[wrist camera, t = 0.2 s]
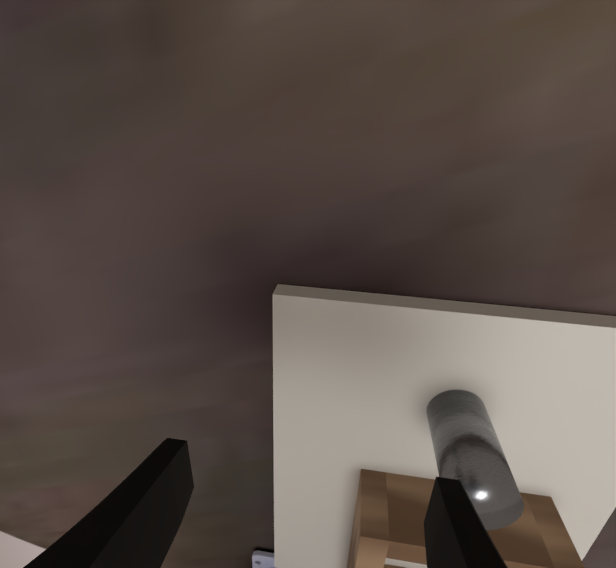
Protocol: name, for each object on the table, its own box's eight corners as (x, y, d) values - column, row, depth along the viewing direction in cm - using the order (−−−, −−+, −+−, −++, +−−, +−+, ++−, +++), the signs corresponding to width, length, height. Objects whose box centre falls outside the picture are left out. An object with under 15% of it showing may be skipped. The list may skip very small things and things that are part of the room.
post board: (539, 597, 28) (585, 727, 22) (277, 550, 30) (256, 657, 24) (699, 324, 17) (870, 435, 11) (277, 284, 19) (239, 359, 14)
